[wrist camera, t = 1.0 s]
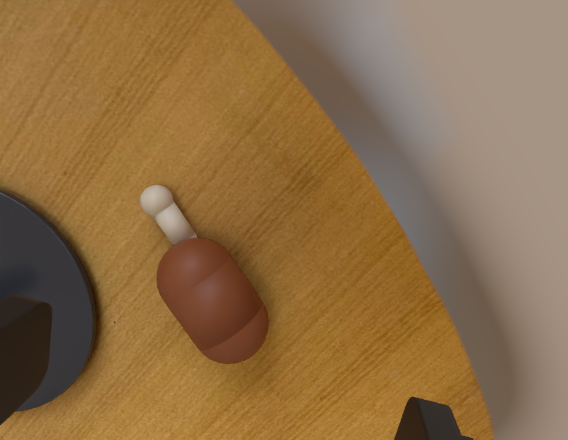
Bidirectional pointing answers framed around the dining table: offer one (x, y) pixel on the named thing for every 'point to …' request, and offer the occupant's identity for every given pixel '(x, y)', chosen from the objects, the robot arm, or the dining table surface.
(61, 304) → the lid
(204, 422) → the dining table surface
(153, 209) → the drumstick
